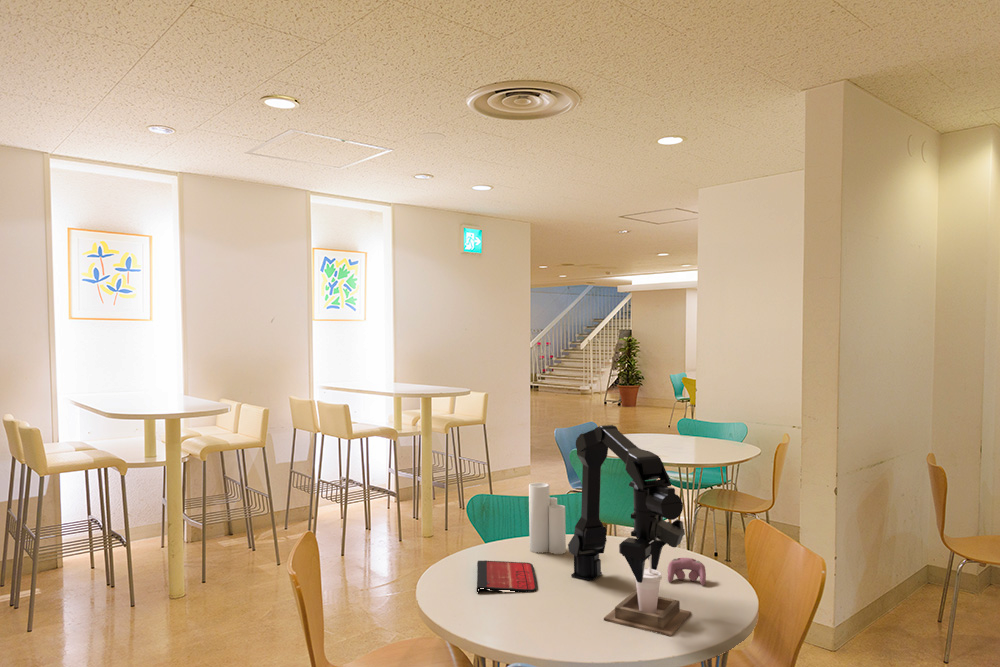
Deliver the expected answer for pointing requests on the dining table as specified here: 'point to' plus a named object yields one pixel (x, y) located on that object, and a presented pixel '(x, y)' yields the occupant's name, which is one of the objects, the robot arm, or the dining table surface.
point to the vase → (545, 521)
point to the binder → (506, 576)
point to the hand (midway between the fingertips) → (647, 576)
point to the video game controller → (686, 563)
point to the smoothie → (649, 589)
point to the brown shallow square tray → (649, 615)
